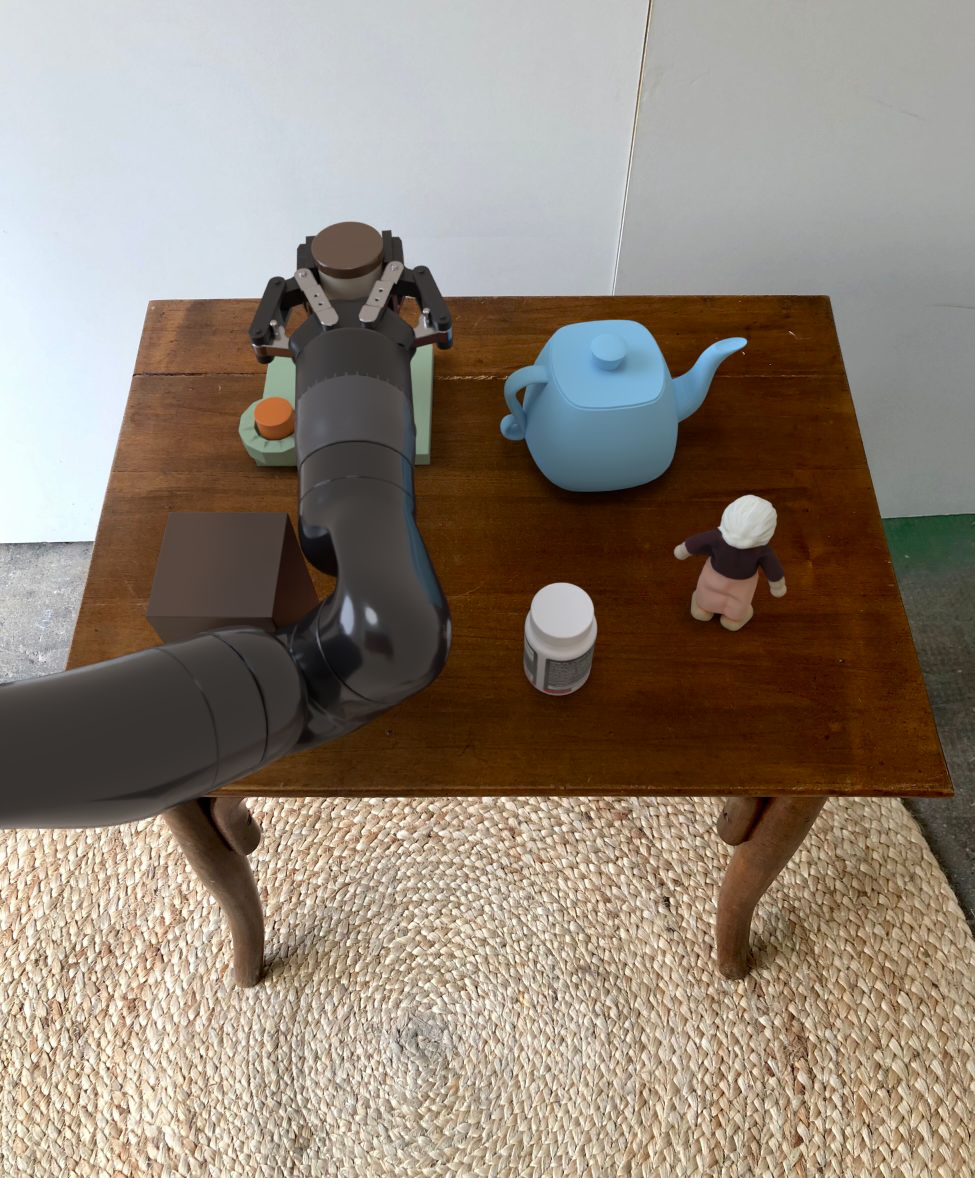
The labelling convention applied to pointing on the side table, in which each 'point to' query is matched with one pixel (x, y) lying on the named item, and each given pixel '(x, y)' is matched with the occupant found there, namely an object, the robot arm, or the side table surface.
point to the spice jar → (348, 259)
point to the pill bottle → (559, 639)
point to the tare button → (275, 418)
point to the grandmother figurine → (735, 562)
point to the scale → (283, 386)
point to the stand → (228, 574)
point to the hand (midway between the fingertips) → (350, 243)
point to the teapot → (605, 404)
